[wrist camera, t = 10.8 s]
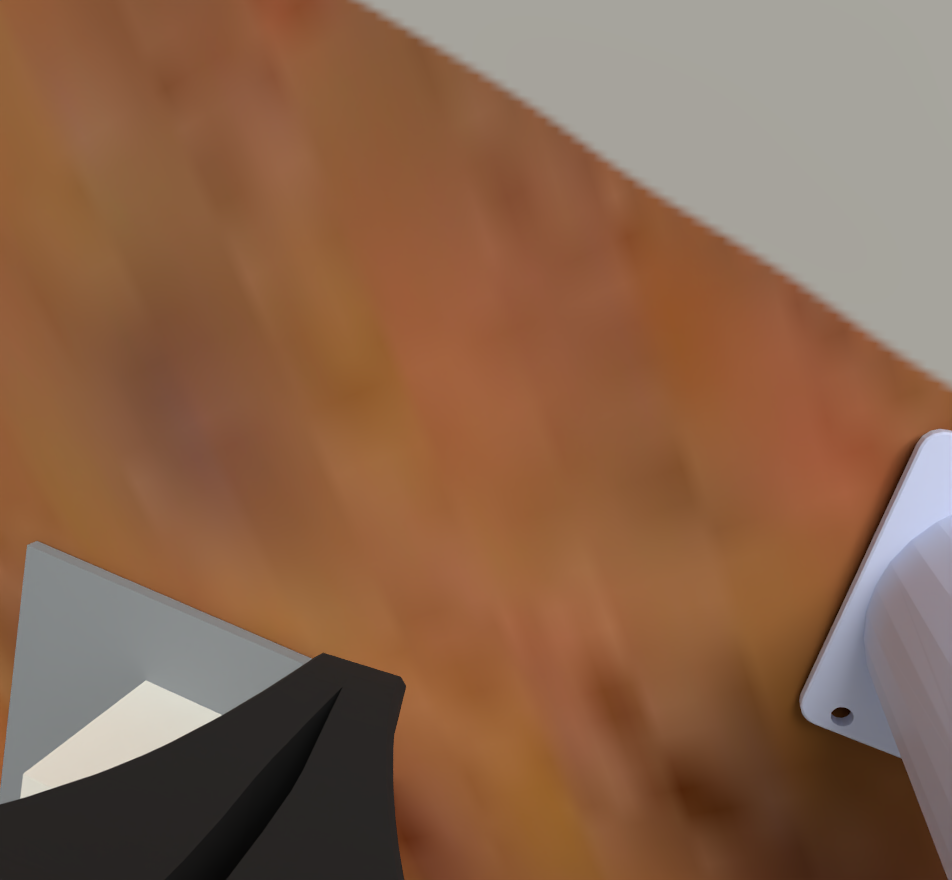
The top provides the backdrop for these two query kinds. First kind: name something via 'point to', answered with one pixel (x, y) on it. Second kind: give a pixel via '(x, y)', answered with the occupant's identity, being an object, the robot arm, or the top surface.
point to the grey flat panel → (116, 655)
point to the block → (118, 737)
